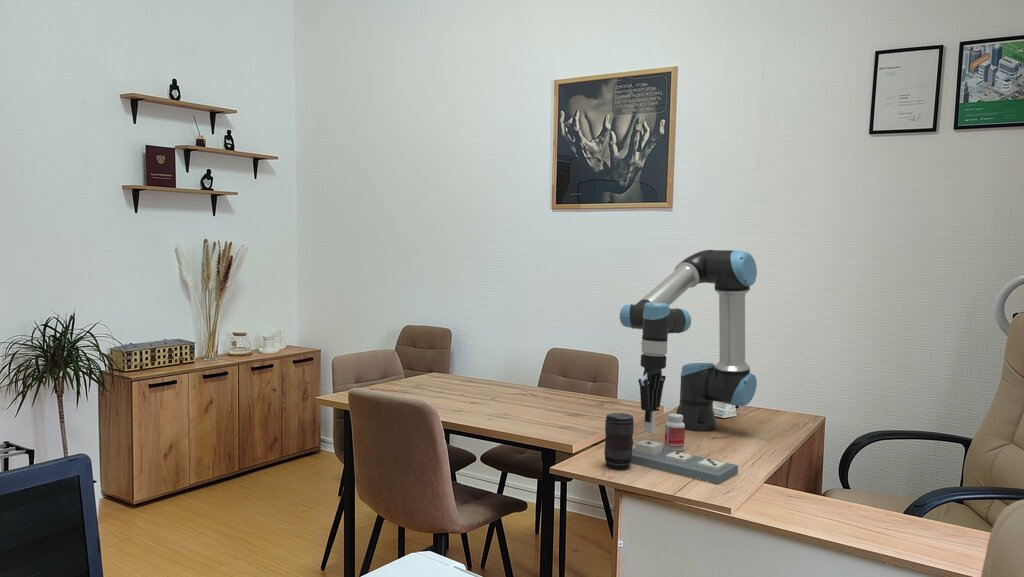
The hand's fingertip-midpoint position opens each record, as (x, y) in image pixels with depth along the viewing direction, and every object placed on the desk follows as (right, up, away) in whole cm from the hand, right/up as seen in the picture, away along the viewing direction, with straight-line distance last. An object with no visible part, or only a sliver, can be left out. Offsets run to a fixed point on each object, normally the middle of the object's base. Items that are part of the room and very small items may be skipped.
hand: (649, 432), depth 218 cm
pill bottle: (+10, -8, +14) cm, 19 cm away
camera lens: (-11, -9, -8) cm, 16 cm away
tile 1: (0, -7, +1) cm, 7 cm away
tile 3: (+15, -10, -12) cm, 22 cm away
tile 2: (+8, -9, -6) cm, 13 cm away
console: (+8, -9, -6) cm, 13 cm away
